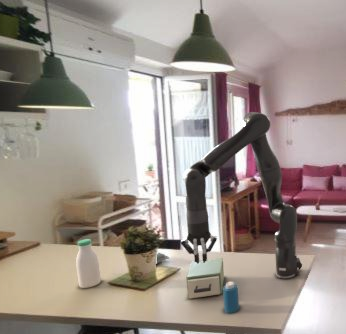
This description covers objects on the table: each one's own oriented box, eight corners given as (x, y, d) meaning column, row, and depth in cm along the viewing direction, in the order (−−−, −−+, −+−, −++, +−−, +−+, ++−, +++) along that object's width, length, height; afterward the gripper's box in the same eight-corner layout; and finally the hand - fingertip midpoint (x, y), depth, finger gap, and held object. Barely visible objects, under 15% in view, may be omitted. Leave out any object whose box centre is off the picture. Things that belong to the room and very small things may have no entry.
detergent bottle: (239, 304, 130) (237, 279, 128) (238, 311, 125) (237, 285, 123) (225, 306, 129) (223, 281, 127) (224, 314, 124) (222, 287, 122)
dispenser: (221, 293, 138) (220, 272, 136) (188, 298, 134) (186, 277, 133) (224, 277, 152) (222, 257, 150) (193, 281, 148) (191, 261, 147)
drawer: (219, 299, 132) (217, 282, 130) (187, 304, 129) (185, 286, 127) (222, 278, 149) (220, 262, 147) (194, 282, 146) (192, 266, 144)
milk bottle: (103, 283, 147) (97, 240, 144) (81, 290, 142) (74, 245, 138) (98, 277, 152) (93, 236, 149) (77, 284, 147) (71, 241, 143)
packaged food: (156, 256, 174) (155, 247, 173) (170, 261, 168) (169, 252, 167) (139, 263, 167) (138, 253, 166) (153, 268, 161) (152, 259, 160)
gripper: (176, 224, 123) (180, 269, 125) (215, 221, 126) (219, 264, 129) (180, 218, 130) (183, 260, 133) (217, 215, 133) (220, 256, 136)
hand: (201, 262), depth 131 cm, fingers closed
